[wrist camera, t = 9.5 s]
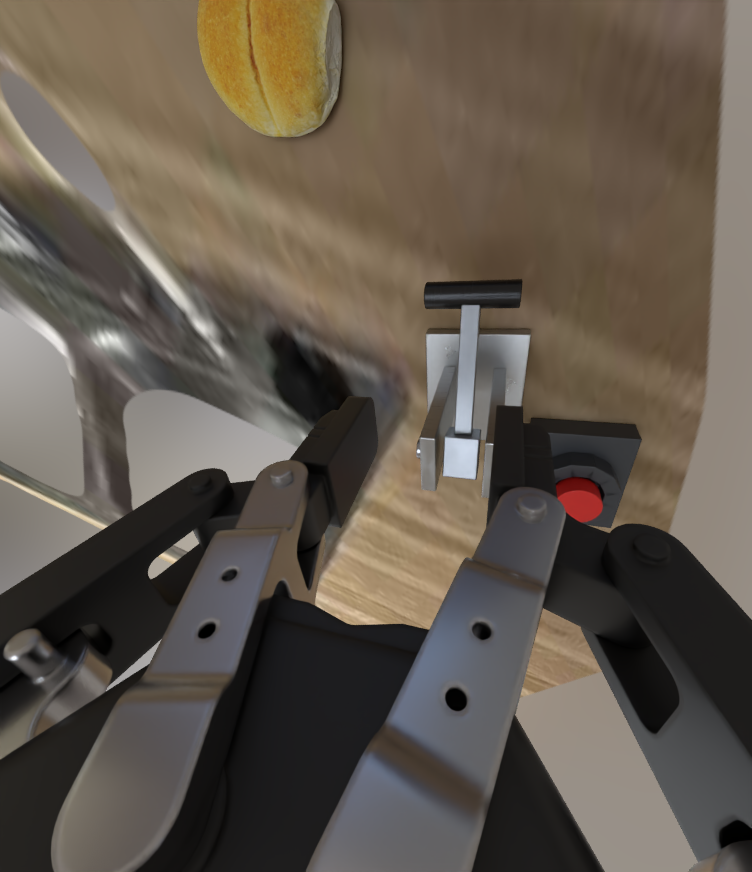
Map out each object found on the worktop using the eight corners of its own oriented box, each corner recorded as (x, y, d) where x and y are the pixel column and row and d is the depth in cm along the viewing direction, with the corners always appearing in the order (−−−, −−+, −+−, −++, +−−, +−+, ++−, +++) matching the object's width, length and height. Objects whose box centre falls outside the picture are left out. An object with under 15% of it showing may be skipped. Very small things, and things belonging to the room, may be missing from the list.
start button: (555, 474, 32) (557, 488, 31) (603, 479, 31) (607, 493, 30) (549, 505, 34) (550, 519, 33) (594, 510, 33) (597, 525, 32)
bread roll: (207, -45, 23) (159, -77, 20) (348, -37, 22) (320, -70, 19) (225, 130, 28) (189, 126, 25) (340, 146, 27) (317, 144, 24)
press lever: (430, 283, 25) (422, 280, 23) (521, 280, 23) (523, 277, 21) (424, 461, 28) (417, 473, 26) (503, 469, 27) (502, 483, 25)
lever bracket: (428, 328, 32) (392, 396, 23) (530, 329, 30) (536, 404, 21) (430, 428, 38) (402, 515, 29) (516, 435, 35) (516, 532, 26)
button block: (531, 417, 34) (532, 443, 31) (635, 424, 32) (648, 453, 29) (518, 500, 40) (519, 529, 37) (606, 511, 37) (614, 543, 34)
